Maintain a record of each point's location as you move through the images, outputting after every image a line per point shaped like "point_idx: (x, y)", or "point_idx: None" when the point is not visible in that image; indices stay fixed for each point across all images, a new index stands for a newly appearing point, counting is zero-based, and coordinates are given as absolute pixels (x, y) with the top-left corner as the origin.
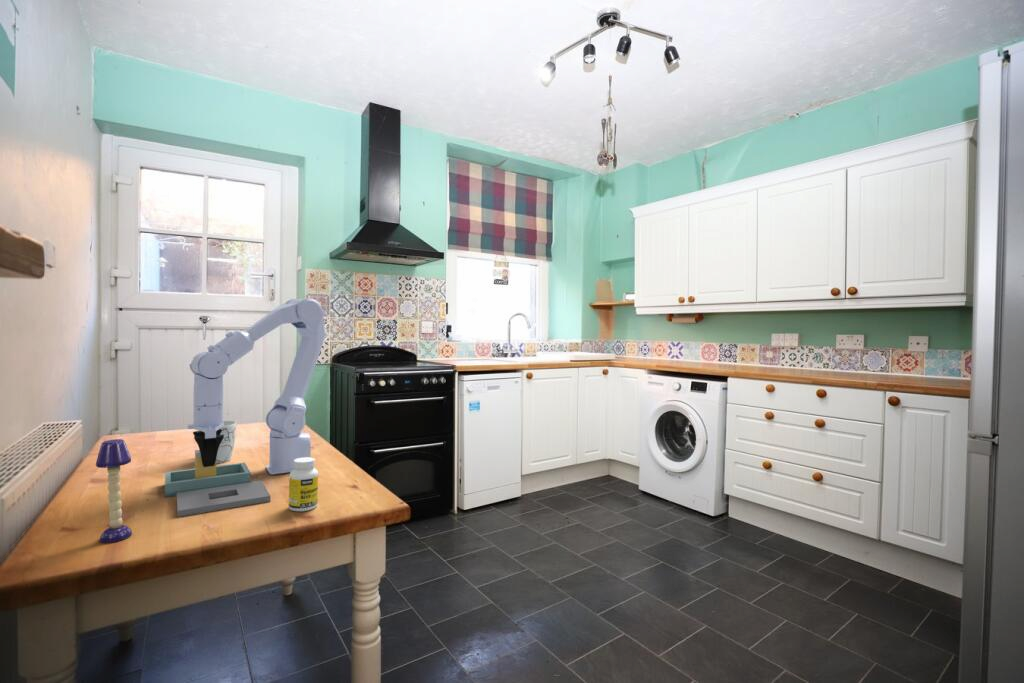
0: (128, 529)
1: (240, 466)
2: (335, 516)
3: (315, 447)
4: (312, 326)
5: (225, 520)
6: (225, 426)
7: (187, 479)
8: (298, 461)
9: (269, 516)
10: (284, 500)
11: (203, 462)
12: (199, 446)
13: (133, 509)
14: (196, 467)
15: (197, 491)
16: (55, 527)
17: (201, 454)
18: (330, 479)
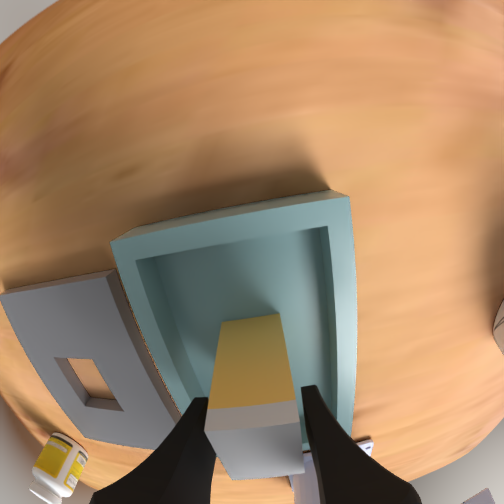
0: None
1: None
2: None
3: (457, 454)
4: None
5: (10, 360)
6: None
7: (318, 281)
8: (31, 490)
9: (34, 407)
10: (96, 442)
11: (184, 414)
12: (124, 477)
13: (51, 163)
14: (214, 371)
15: (111, 335)
16: (16, 49)
17: (161, 443)
18: (210, 496)
